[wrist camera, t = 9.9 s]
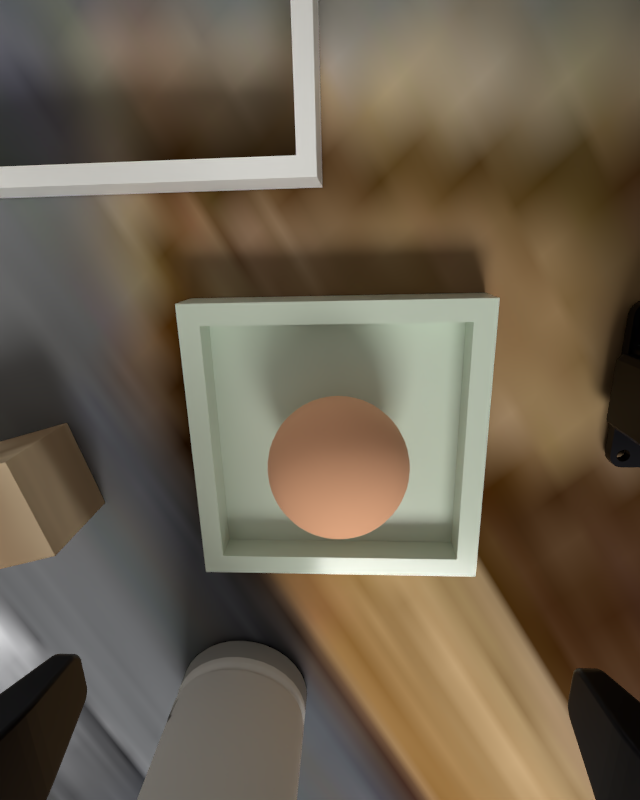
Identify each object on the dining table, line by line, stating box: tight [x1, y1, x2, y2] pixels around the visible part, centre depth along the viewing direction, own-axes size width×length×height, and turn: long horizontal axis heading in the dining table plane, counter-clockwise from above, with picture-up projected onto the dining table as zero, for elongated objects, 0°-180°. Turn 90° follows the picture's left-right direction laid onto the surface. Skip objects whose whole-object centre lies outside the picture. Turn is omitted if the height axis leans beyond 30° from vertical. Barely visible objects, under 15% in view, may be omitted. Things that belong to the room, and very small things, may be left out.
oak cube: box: [0, 423, 105, 569], centre depth 20 cm, size 4×4×4 cm
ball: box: [268, 396, 410, 539], centre depth 17 cm, size 5×5×5 cm
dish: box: [175, 293, 500, 577], centre depth 19 cm, size 11×11×2 cm
